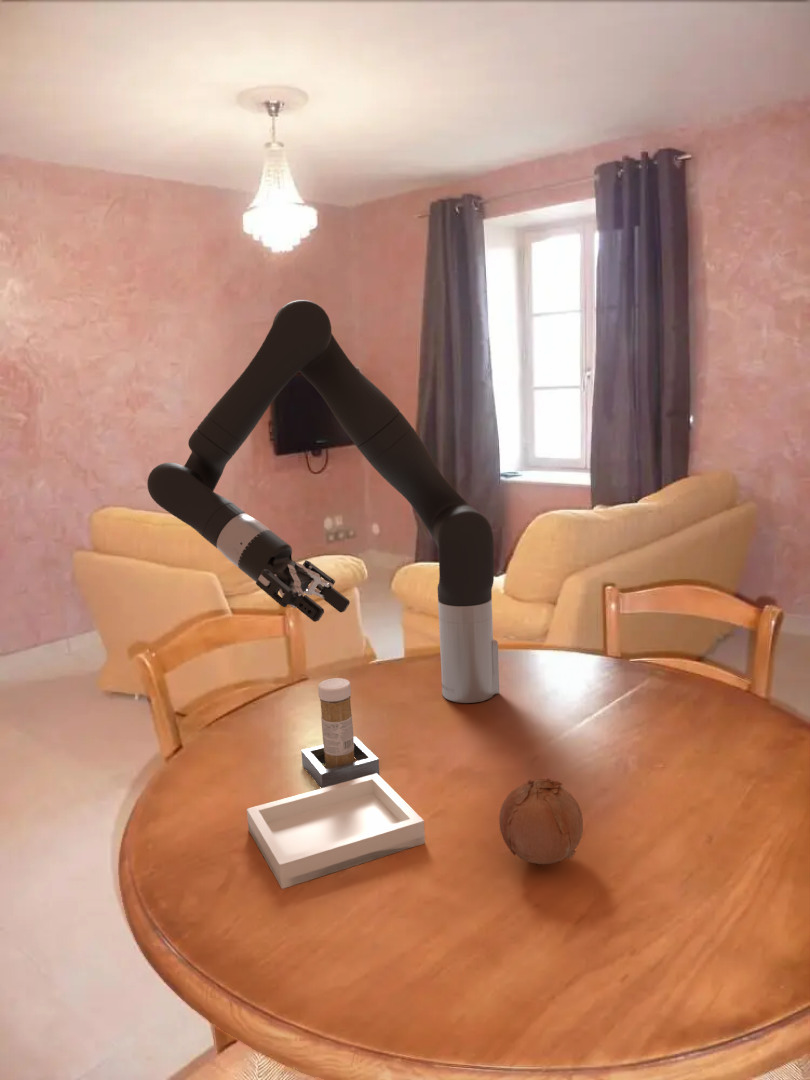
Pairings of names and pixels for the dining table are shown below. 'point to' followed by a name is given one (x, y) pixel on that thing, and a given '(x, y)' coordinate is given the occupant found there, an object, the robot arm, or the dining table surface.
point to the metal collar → (341, 773)
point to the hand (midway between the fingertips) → (333, 612)
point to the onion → (541, 822)
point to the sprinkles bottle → (336, 722)
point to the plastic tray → (333, 829)
